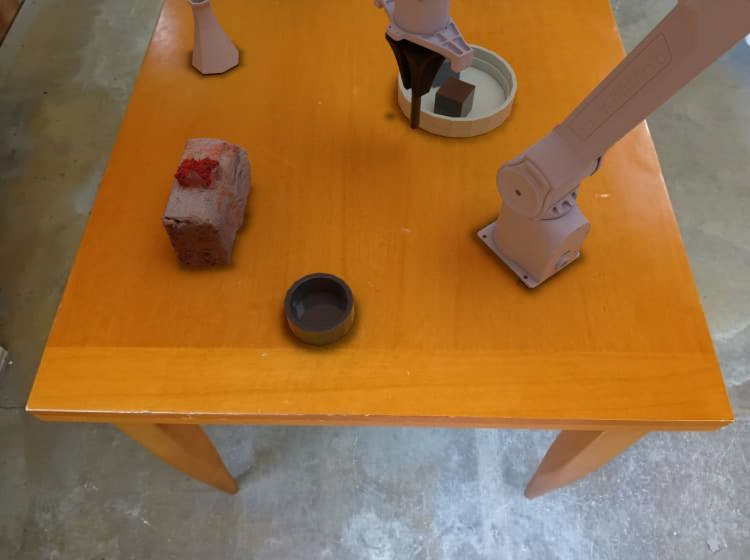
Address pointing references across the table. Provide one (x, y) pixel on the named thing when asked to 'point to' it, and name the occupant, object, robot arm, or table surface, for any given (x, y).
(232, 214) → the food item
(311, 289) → the holder
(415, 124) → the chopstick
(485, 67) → the bowl
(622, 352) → the table surface
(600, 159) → the robot arm
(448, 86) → the walnut block
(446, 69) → the slate block
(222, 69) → the flask
